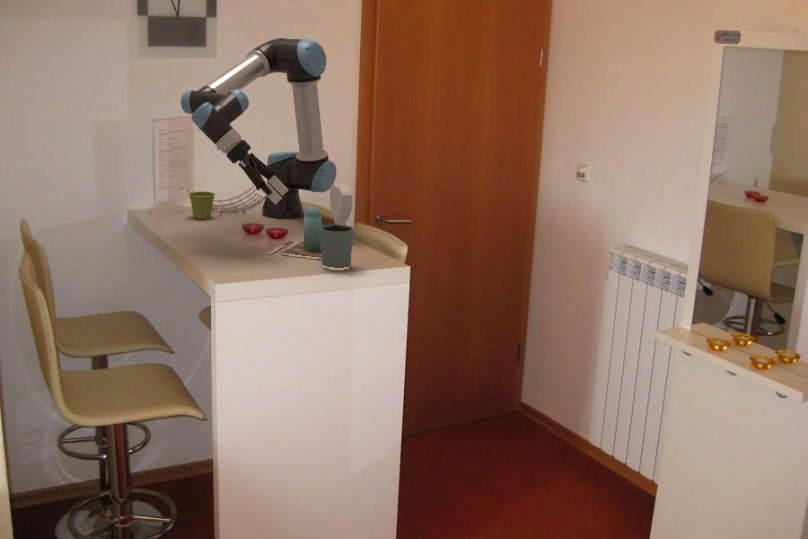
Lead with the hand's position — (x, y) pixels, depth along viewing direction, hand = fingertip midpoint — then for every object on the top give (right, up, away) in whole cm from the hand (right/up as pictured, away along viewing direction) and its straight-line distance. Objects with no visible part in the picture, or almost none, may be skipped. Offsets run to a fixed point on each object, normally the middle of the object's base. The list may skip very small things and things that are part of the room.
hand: (282, 197), depth 289 cm
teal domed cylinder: (+9, -16, +4) cm, 19 cm away
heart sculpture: (+16, -12, +25) cm, 32 cm away
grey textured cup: (+18, -22, -11) cm, 30 cm away
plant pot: (-35, -4, +45) cm, 57 cm away
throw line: (-2, -16, +7) cm, 17 cm away
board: (+9, -17, +5) cm, 20 cm away
